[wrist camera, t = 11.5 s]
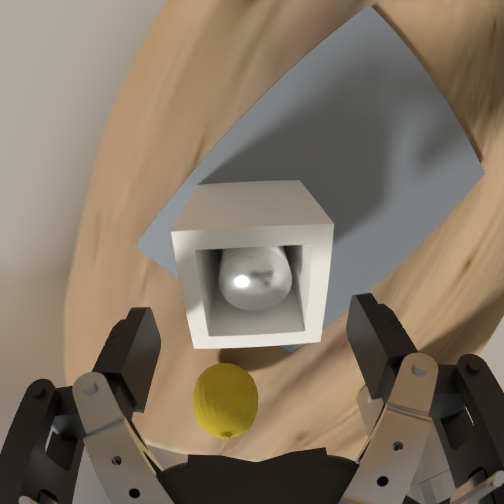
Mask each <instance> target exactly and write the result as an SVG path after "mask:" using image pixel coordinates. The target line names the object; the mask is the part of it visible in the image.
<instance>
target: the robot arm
mask: <svg viewBox="0 0 504 504" xmlns="http://www.w3.org/2000/svg"><path fill="white" fill-rule="evenodd" d="M347 336H348V340H349V342H350V345H351V347H352V350H353V352H354V355H355V357H356V360H357V362H358V365H359V367H360V370H361V372H362V375H363V378H364V380H365V383H366V386H365V387H364V388H363V389H362V390H361V392H360V393H359V395H358V398H357V403H358V406H359V409H360V412H361V415H362V419H363V422H364V425H365V429H366V432H367V436H368V439H367V441H366V443H365V445H364V447H363V449H362V450H361V452H360V454H359V456H358V457H357V459H356V461H352V460H350V459H347V458H344V457H340V456H334V455H327V452H326V448H325V447H324V448H317V449H311V450H303V451H295V452H290V453H287V454H284V455H281V456H278V457H274V458H271V459H268V460H264V461H260V462H251V461H246V460H241V459H235V458H231V457H226V456H221V455H190V454H188V462H186V463H182V464H178V465H175V466H172V467H170V468H168V469H166V470H163V468H162V467H161V465H160V464H159V463H158V461H157V460H156V459H155V457H154V456H153V454H152V453H151V451H150V449H149V448H148V446H147V444H146V443H145V441H144V439H143V438H142V436H141V434H140V433H139V431H138V429H137V427H136V425H135V424H134V422H133V420H132V416H133V412H141V413H144V409H145V405H146V401H147V397H148V393H149V389H150V386H151V382H152V378H153V375H154V371H155V367H156V364H157V360H158V357H159V353H160V349H161V338H160V334H159V331H158V328H157V325H156V322H155V319H154V315H153V312H152V310H151V308H150V307H133V308H131V309H130V311H129V313H128V316H127V318H126V320H120V321H119V322H118V323H117V324H116V325H115V326H114V327H113V328H112V330H111V332H110V334H109V336H108V337H109V338H107V340H106V342H105V346H104V347H103V349H102V351H101V353H100V355H99V357H98V359H97V361H96V364H95V366H94V368H93V370H92V372H89V373H85V374H83V375H81V376H80V377H79V378H78V379H77V380H76V381H75V383H74V385H73V386H68V387H61V388H56V387H55V386H54V385H53V383H52V382H51V381H50V380H47V379H39V380H36V381H34V382H33V383H32V384H31V385H30V386H29V387H28V388H27V390H26V392H25V395H24V397H23V399H22V401H21V403H20V406H19V408H18V410H17V412H16V415H15V417H14V420H13V422H12V425H11V427H10V429H9V432H8V435H7V437H6V440H5V443H4V445H3V448H2V451H1V454H0V504H72V501H73V495H74V490H75V485H76V480H77V475H78V470H79V466H80V462H81V457H82V452H83V449H84V445H85V447H86V450H87V452H88V455H89V457H90V460H91V462H92V464H93V467H94V469H95V472H96V473H97V476H98V478H99V480H100V482H101V485H102V487H103V489H104V491H105V493H106V495H107V496H108V498H109V500H110V502H111V504H504V393H503V391H502V389H501V387H500V386H499V384H498V382H497V380H496V379H495V377H494V375H493V374H492V372H491V370H490V369H489V367H488V365H487V364H486V362H485V361H484V360H483V359H482V358H480V357H479V356H477V355H474V354H466V355H463V356H462V357H460V359H459V360H458V362H457V364H456V365H439V364H437V363H436V361H435V360H434V359H433V358H432V357H430V356H428V355H426V354H424V353H419V352H418V351H417V349H416V347H415V346H414V344H413V342H412V341H411V339H410V337H409V336H408V334H407V333H406V331H405V329H404V328H402V325H401V323H400V321H398V318H397V317H396V315H395V314H394V312H393V311H392V310H391V309H390V308H388V307H387V306H386V305H384V304H378V303H377V301H376V300H375V298H374V296H373V295H372V294H371V293H365V294H357V295H353V296H352V298H351V302H350V309H349V315H348V320H347ZM466 408H467V410H468V412H469V414H470V416H471V418H472V421H473V423H472V421H471V419H470V417H469V415H468V412H467V410H466ZM473 424H474V426H473ZM51 429H52V430H53V432H52V435H51V439H50V442H49V445H48V448H47V451H45V445H46V442H47V438H48V436H49V433H50V430H51Z"/></svg>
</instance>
